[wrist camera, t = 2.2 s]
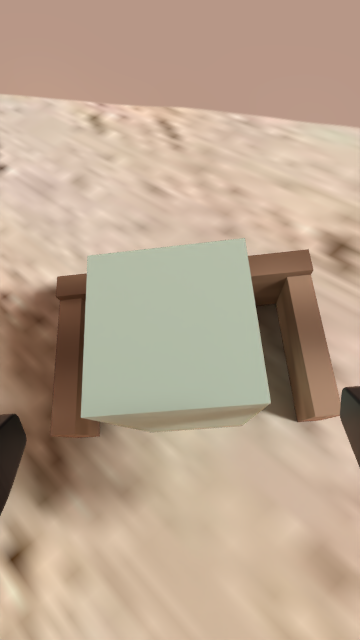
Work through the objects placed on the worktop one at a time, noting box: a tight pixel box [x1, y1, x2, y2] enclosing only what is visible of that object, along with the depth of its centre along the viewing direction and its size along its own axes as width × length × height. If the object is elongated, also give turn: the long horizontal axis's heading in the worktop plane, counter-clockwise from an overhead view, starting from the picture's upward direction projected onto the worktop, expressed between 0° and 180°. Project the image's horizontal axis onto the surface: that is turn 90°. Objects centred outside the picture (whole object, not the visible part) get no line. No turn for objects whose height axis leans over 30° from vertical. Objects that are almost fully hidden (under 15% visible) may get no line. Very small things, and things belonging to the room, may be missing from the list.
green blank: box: [81, 238, 271, 432], centre depth 14 cm, size 5×5×10 cm
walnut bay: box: [50, 249, 341, 438], centre depth 18 cm, size 8×13×4 cm, turn 94°
